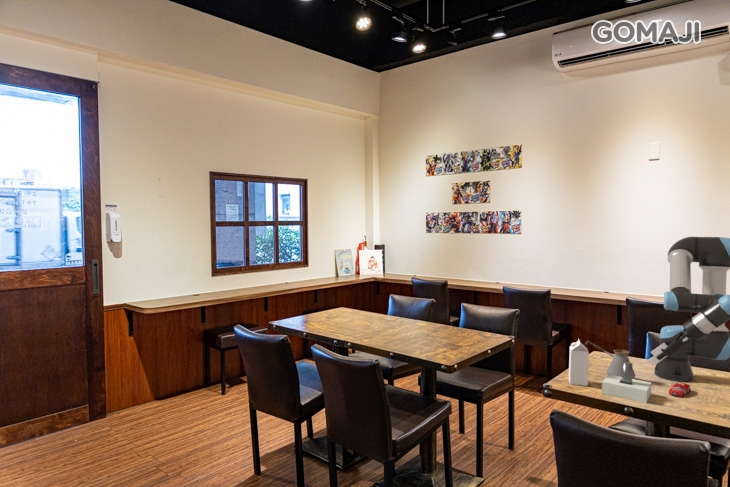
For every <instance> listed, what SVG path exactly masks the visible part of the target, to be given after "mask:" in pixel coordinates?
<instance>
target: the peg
mask: <svg viewBox="0 0 730 487" xmlns="http://www.w3.org/2000/svg"><path fill="white" fill-rule="evenodd" d="M632 368H633V362H631V361H630V362H623V364H622V383H624V384H629V385H632Z"/></svg>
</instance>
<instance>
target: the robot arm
mask: <svg viewBox="0 0 730 487" xmlns="http://www.w3.org/2000/svg"><path fill="white" fill-rule="evenodd" d="M667 261H668V263H669V291H665V292H664V295H663V308H664V310H665V311H674V312H685V313H695V314H696V313H697V314H696V315H694V316H693V317H691V319H688V320H687V321H685V322H684V323H683V324H682V325H679V324H678V325H666V326H663V327H661V329H660V333H659V339H660V340H659V346H657V347H656V348H654V349H653V350H651V351H650V353H651V354H652V355H653V356H652V357H650V358H648V359H647V362H648V363H649V364H650V365H651V366H652V367H654V372H653V373H654V375H656V376H657V377H659V378H662V379H665V380H669V381H674V382H675V381H676V382H683V383H684V382H692V381H693V380H694V372H693V369H692V366H691V362H690V357H694V358H695V357H696V358H700V359H701V358H703V359H710V360H714V361H715V360H717V361H726V360H728V359H729V358H730V330H729V329H728V328H727V327H726V325H725V324H726V323H727V322H728V321H730V294H729V293H728V294H727V272H728V271H729V270H730V238H729V237H725V236H724V237H723V236H686V237H683V238H681V239H679V240H678V241H676V242H675V243H674V244H672V245H671V247H670V248H669V250H668V252H667ZM692 263H698V267H699V269H701V270H702V288H701V289H702V290H701V291H702V292H701V293H692V275H691V274H692V272H691V264H692Z"/></svg>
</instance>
